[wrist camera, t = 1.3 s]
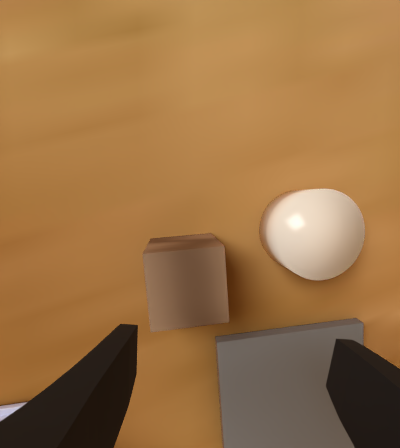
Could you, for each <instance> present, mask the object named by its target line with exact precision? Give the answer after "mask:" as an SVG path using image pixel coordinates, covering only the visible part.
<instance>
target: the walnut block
mask: <svg viewBox="0 0 400 448" xmlns="http://www.w3.org/2000/svg"><path fill="white" fill-rule="evenodd" d="M143 262H144V272H145V282H146V291H147V301H148V311H149V321H150V330H151V332H157V331H165V330H173V329H181V328H189V327H197V326H205V325H213V324H220V323H228V322H229V309H228V293H227V277H226V261H225V246H224V245H223V244H222V243H221V242H220V241H219V240H218V239H217V238H216V237H214V236H213V235H212V234H211V233H208V234H197V235H186V236H175V237H164V238H153V239H150V241H149V243H148V245H147V247H146V249H145V250H144V252H143Z"/></svg>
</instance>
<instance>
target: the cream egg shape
mask: <svg viewBox="0 0 400 448" xmlns="http://www.w3.org/2000/svg"><path fill="white" fill-rule="evenodd" d="M259 234H260V240H261V243H262V246H263V248H264V250H265V251H266V252H267V254H268V255H269V256H270V257H271V258H272V259H273V260H275V261H276V262H278V263H280V264H281V265H283V266H284V267H286V268H288V269H289V270H291V271H292V272H294V273H296V274H297V275H299V276H301V277H303V278H306V279H310V280H326V279H330V278H334V277H336V276H338V275H340V274H341V273H343V272H345V271H346V270H347V269H348V268H349V267H350V266H351V265H352V264H353V263H354V262H355V260H356V259H357V257H358V256H359V254H360V252H361V249H362V247H363V243H364V238H365V225H364V219H363V216H362V214H361V212H360V209H359V208H358V206H357V205H356V204H355V202H354V201H353V200H352V199H351V198H349V197H348V196H347V195H345V194H344V193H341V192H339V191H336V190H332V189H309V190H294V191H289V192H285V193H283V194H281V195H279V196H278V197H276V198H275V199H274V200H272V201H271V202H270V204H269V205H268V206H267V207H266V209H265V211H264V212H263V215H262V217H261V221H260V227H259Z"/></svg>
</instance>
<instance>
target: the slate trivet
mask: <svg viewBox="0 0 400 448" xmlns="http://www.w3.org/2000/svg"><path fill="white" fill-rule="evenodd" d="M336 339H350V340H354V341H356V342H358V343H360V344H361V345H363V322H361V321H360V320H358V319H357V318H353V319H346V320H338V321H331V322H323V323H315V324H308V325H300V326H293V327H285V328H278V329H270V330H262V331H255V332H247V333H240V334H232V335H224V336H217V337H215V342H216V357H217V371H218V385H219V400H220V414H221V428H222V443H223V448H355V447H354V445H353V443H352V442H351V440H350V438H349V436H348V434H347V432H346V430H345V429H344V427H343V425H342V423H341V421H340V419H339V417H338V415H337V412H336V410H335V408H334V406H333V403H332V401H331V398H330V396H329V393H328V391H327V388H326V382H327V377H328V373H329V368H330V364H331V359H332V355H333V350H334V346H335V341H336Z"/></svg>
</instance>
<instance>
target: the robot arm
mask: <svg viewBox="0 0 400 448" xmlns="http://www.w3.org/2000/svg"><path fill="white" fill-rule="evenodd" d="M137 332H138V325H128V324H120V325H119V326H118V327H117V328H115V329H114V330H113V331H112V332H111V333H110V334H109V335H108V336H107V337H106V338H105V339H104V340H103V341H101V342H100V343H99V344H98V345H97V346H96V347H95V348H94V349H93V350H92V351H90V352H89V353H88V354H87V355H86V356H85V357H84V358H82V359H81V360H80V361H79V362H78V363H77V364H76V365H74V366H73V367H72V368H71V369H70V370H69V371H67V372H66V373H65V374H64V375H62V376H61V377H60V378H59V379H57V380H56V381H55V382H54V383H52V384H51V385H50V386H49V387H47V388H46V389H45V390H44V391H42V392H41V393H40V394H38V395H37V396H36V397H34V398H33V399H32V400H30V401H29V402H25V403H18V404H11V405H4V406H0V448H114V445H115V442H116V440H117V437H118V434H119V431H120V428H121V425H122V423H123V420H124V417H125V414H126V411H127V408H128V405H129V402H130V398H131V394H132V390H133V386H134V382H135V377H136V371H137ZM326 388H327V391H328V393H329V396H330V398H331V401H332V403H333V406H334V408H335V410H336V412H337V415H338V417H339V419H340V421H341V423H342V425H343V427H344V429H345V430H346V432H347V434H348V436H349V438H350V440H351V442H352V443H353V445H354V447H355V448H400V369H399V368H397V367H396V366H394V365H393V364H391V363H390V362H388V361H387V360H385V359H383V358H382V357H380V356H379V355H377V354H376V353H374V352H373V351H371V350H369V349H368V348H366V347H365V346H363V345H361V344H360V343H358V342H356V341H354V340H350V339H336V341H335V346H334V350H333V355H332V359H331V364H330V368H329V373H328V377H327V382H326Z"/></svg>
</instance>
